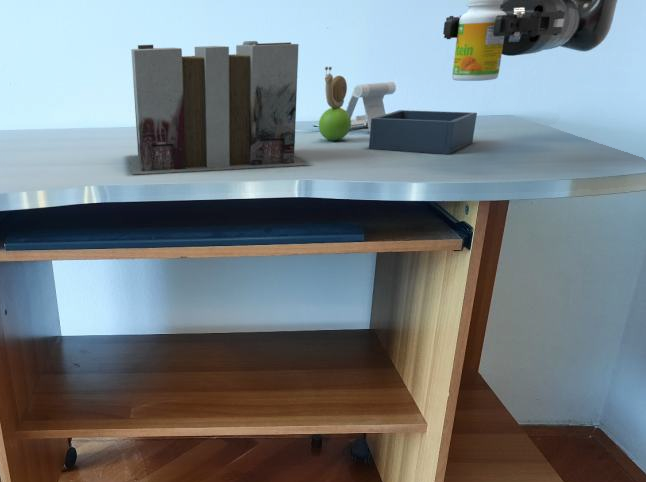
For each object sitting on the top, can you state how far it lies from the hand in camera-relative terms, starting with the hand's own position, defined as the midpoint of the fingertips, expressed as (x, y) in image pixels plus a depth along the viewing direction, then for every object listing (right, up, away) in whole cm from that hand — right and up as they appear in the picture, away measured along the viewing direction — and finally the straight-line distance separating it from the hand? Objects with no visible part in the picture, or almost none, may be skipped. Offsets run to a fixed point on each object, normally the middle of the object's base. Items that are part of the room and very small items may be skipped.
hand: (472, 26), depth 77 cm
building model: (-30, -10, +21) cm, 38 cm away
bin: (+4, -6, +27) cm, 28 cm away
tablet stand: (-1, +2, +44) cm, 44 cm away
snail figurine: (-9, -3, +34) cm, 36 cm away
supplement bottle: (+2, -5, +4) cm, 7 cm away
